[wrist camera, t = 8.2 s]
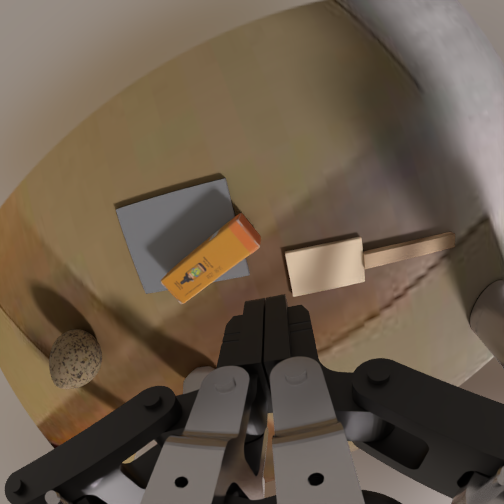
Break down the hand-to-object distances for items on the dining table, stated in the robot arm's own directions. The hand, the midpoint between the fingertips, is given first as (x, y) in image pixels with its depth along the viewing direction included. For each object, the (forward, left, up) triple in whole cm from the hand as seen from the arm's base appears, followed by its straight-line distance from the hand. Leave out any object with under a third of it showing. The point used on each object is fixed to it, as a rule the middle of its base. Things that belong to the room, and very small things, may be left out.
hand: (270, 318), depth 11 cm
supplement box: (+1, +1, -16) cm, 16 cm away
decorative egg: (+28, +12, -18) cm, 36 cm away
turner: (-11, +7, -18) cm, 22 cm away
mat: (+9, +1, -18) cm, 20 cm away
